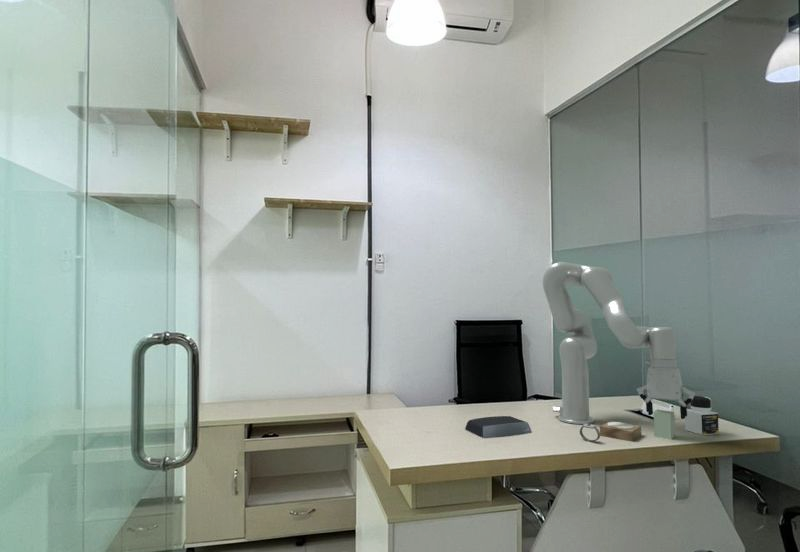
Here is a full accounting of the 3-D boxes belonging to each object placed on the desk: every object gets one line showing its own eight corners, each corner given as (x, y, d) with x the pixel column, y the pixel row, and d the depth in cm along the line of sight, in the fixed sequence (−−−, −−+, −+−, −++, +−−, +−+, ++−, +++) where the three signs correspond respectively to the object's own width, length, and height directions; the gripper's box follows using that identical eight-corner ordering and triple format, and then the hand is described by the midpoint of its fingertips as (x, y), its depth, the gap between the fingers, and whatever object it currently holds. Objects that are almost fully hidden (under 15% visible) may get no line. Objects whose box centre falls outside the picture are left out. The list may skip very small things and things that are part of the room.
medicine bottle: (702, 435, 158) (701, 399, 159) (684, 430, 165) (683, 395, 166) (719, 434, 160) (718, 398, 161) (700, 428, 167) (699, 394, 168)
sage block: (654, 436, 157) (653, 411, 157) (658, 433, 161) (657, 409, 161) (671, 439, 154) (670, 414, 154) (674, 436, 157) (674, 411, 158)
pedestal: (600, 435, 157) (599, 425, 158) (610, 429, 165) (610, 419, 165) (632, 441, 151) (632, 430, 151) (641, 435, 158) (641, 424, 158)
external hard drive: (533, 434, 160) (533, 422, 160) (484, 440, 152) (484, 427, 153) (510, 425, 172) (510, 413, 172) (463, 430, 164) (463, 418, 165)
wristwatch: (601, 442, 149) (601, 426, 150) (597, 444, 147) (597, 427, 148) (582, 438, 154) (582, 422, 154) (578, 439, 152) (578, 424, 152)
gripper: (632, 363, 161) (635, 415, 160) (690, 366, 150) (694, 422, 148) (638, 361, 167) (641, 411, 165) (695, 364, 155) (699, 418, 154)
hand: (666, 416), depth 157 cm, fingers open, 9 cm apart
